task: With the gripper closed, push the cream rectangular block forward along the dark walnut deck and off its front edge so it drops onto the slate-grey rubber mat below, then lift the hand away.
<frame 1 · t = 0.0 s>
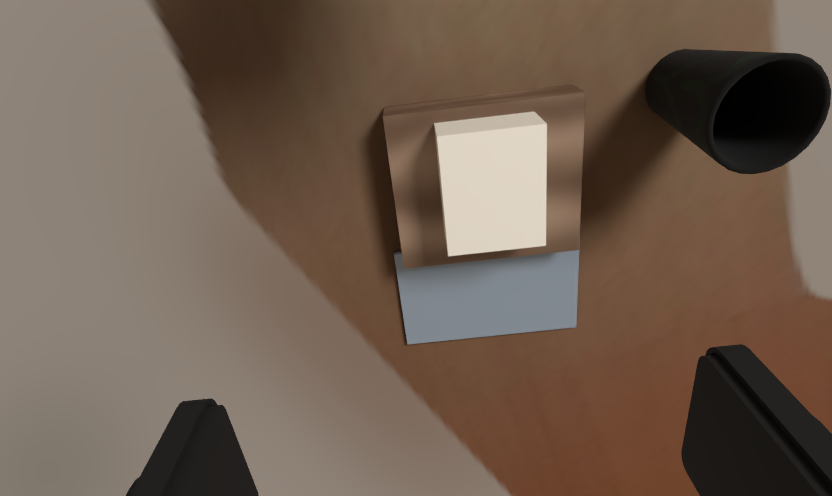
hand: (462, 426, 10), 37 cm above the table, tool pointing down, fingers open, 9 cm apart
cream rectangular block: (487, 176, 43), point 3 cm above the table, touching deck
cup: (677, 83, 43), on the table
mat: (488, 289, 52), on the table
deck: (481, 174, 46), on the table
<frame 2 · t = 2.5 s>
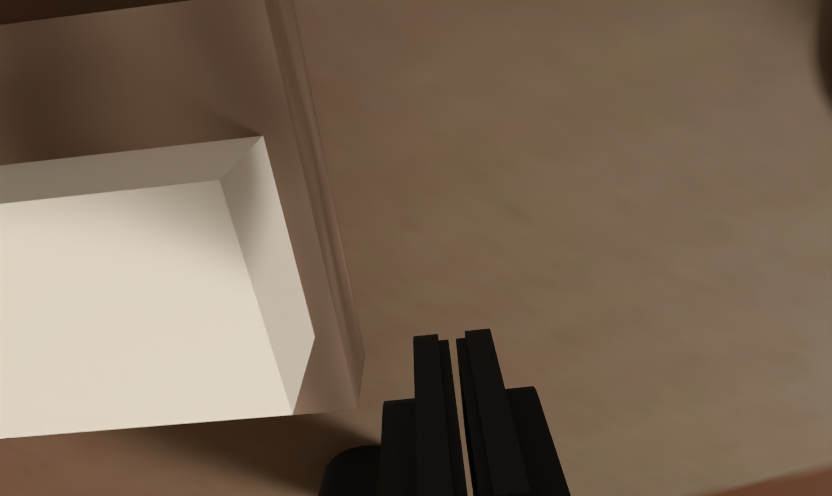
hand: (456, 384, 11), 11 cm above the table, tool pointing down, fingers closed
cream rectangular block: (155, 260, 18), point 3 cm above the table, touching deck
cup: (373, 477, 29), on the table
deck: (170, 221, 21), on the table
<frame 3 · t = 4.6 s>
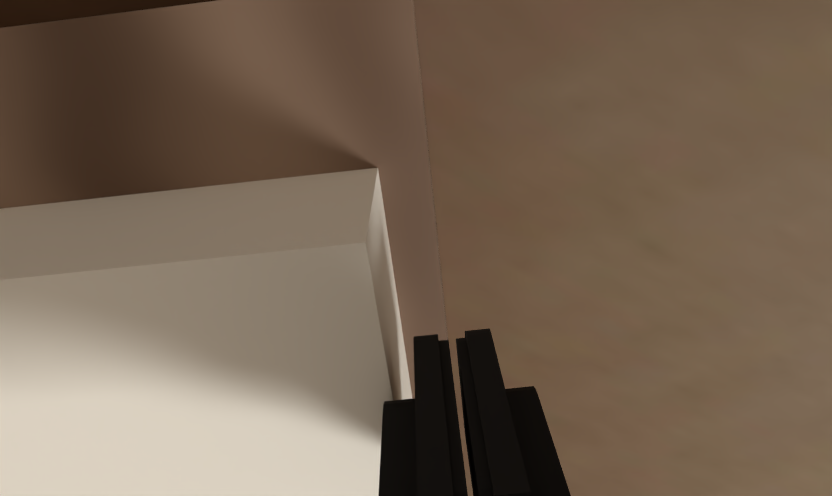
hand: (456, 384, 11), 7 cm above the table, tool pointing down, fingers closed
cream rectangular block: (222, 321, 14), point 4 cm above the table, touching deck, gripper
deck: (235, 263, 18), on the table
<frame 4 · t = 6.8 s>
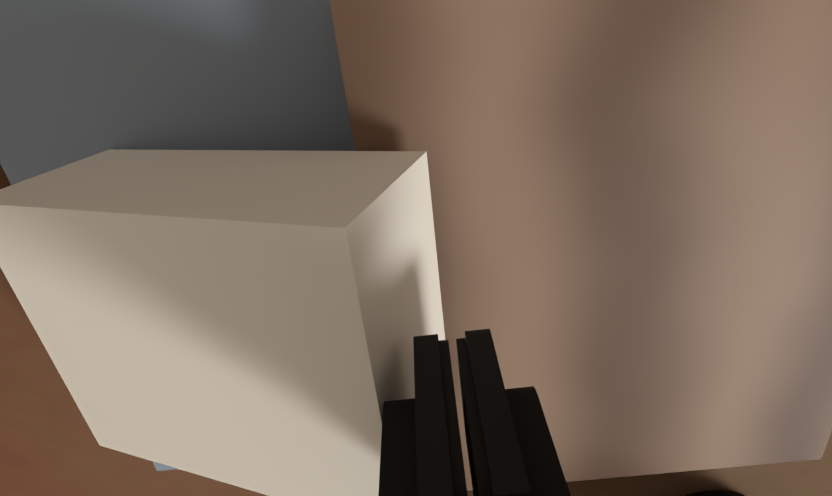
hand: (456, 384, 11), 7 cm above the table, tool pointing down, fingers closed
cream rectangular block: (281, 280, 15), point 2 cm above the table, tilted 21°, touching gripper
mat: (228, 266, 18), on the table
deck: (593, 227, 17), on the table
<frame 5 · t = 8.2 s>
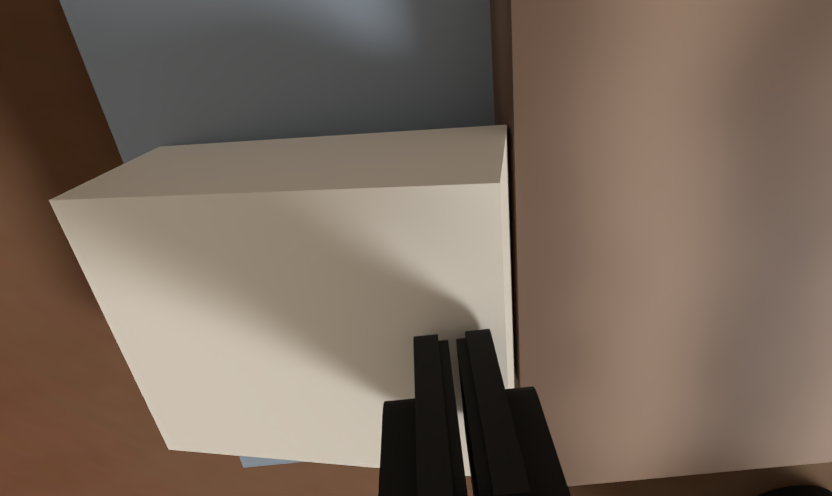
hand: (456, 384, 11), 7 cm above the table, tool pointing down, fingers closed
cream rectangular block: (345, 264, 16), point 2 cm above the table, tilted 12°, touching deck, mat
mat: (335, 258, 17), on the table
deck: (709, 217, 17), on the table
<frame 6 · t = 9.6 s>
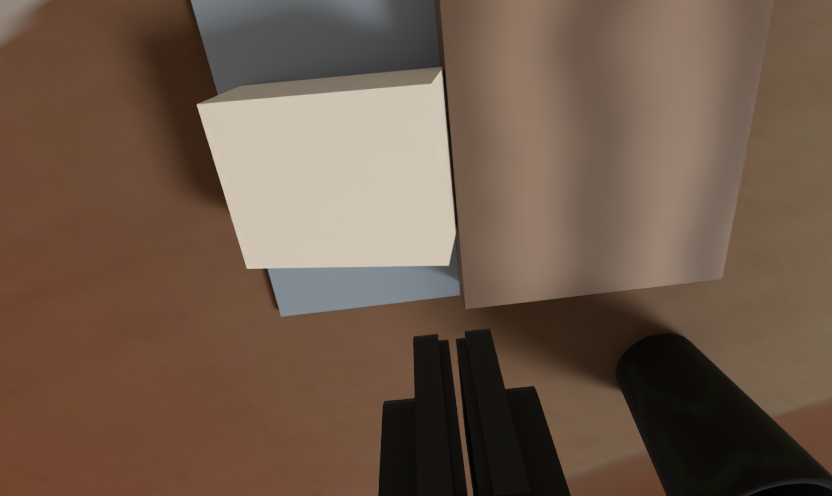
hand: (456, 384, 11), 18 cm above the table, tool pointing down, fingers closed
cream rectangular block: (352, 158, 26), point 2 cm above the table, tilted 12°, touching deck, mat
cup: (655, 364, 35), on the table
mat: (345, 161, 27), on the table
deck: (577, 132, 27), on the table
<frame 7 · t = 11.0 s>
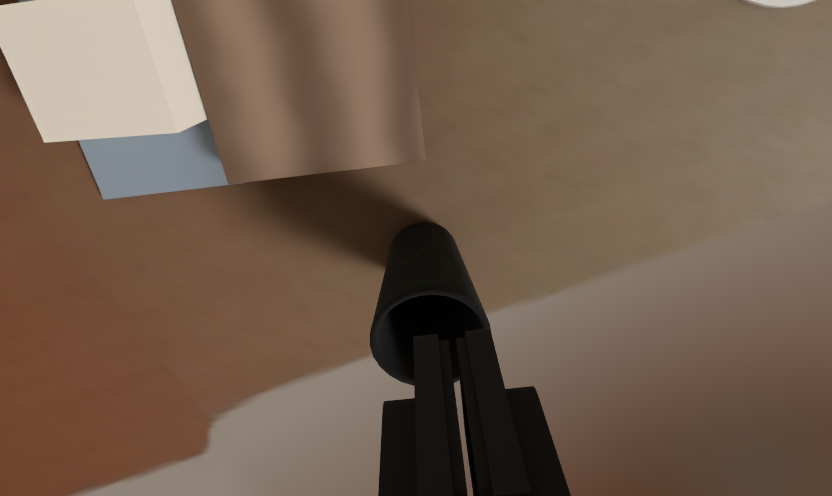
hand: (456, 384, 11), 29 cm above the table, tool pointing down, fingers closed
cream rectangular block: (128, 61, 34), point 2 cm above the table, tilted 12°, touching deck, mat
cup: (423, 251, 43), on the table
mat: (133, 68, 35), on the table
deck: (310, 45, 35), on the table
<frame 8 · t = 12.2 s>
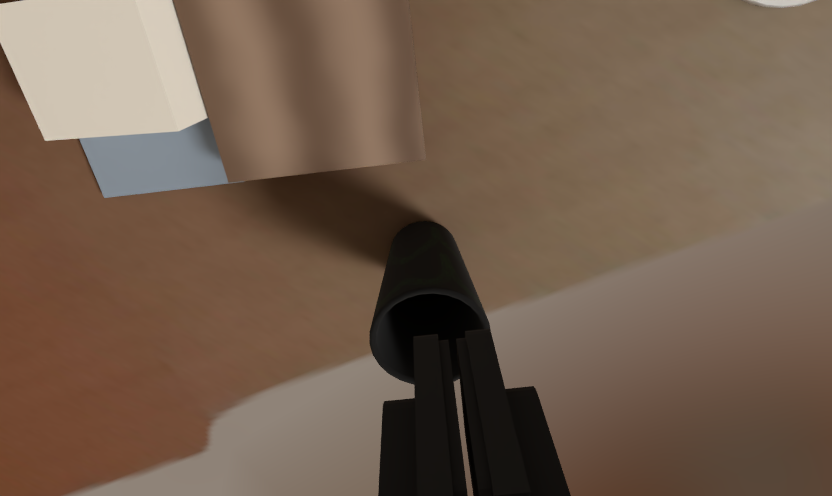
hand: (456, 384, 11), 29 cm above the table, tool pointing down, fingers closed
cream rectangular block: (128, 59, 34), point 2 cm above the table, tilted 12°, touching deck, mat
cup: (423, 250, 43), on the table
mat: (133, 66, 35), on the table
deck: (310, 44, 35), on the table
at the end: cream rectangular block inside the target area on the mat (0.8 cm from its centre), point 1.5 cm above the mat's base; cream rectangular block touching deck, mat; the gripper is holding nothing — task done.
